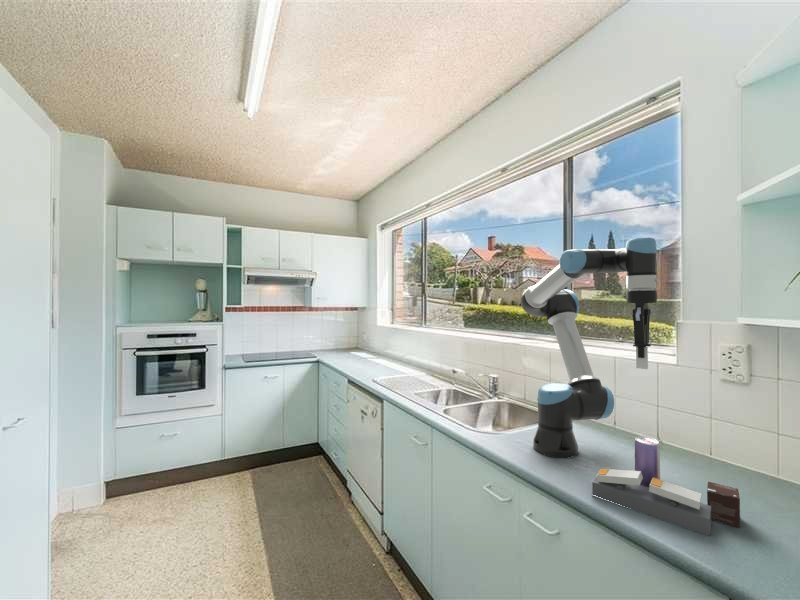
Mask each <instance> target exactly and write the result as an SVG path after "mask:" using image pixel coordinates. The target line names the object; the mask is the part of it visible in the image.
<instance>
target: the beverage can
mask: <svg viewBox="0 0 800 600" xmlns="http://www.w3.org/2000/svg"><path fill="white" fill-rule="evenodd" d="M634 471H641V473H642V477H643V479H642V481H641V483H640V485H642V486H645V487H648V488H649V485H650V483H651V480H652V478H657V479H660V480H661V445H660V442H659V441H658V440H657V439H655V438H652V437H650V436H649V437H648V436H636V437H635V440H634Z"/></svg>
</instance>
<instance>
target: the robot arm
mask: <svg viewBox="0 0 800 600" xmlns="http://www.w3.org/2000/svg"><path fill="white" fill-rule="evenodd" d="M657 253H658V250H657V241H656V239H655V238H653V237H635V238H631V239H628V240H627V241H626V244H625V247H622V248H617V249H580V248H574V249H567V250H564V251H563V252H562V253H561V255H560V257H559V264H558V265H557V266H556V267H554V268H553V269H552V270H551V271H550V272H549V273H547V274H546V275H545V276H544V277H543V278H541V279H540V281H538V282H537V283H536V284H535V285H532V286H529V287H528V288H526V289H525V291H523V293H522V294H521V297H520V305H521V307H522V309H523V311H524V312H526V313H527V314H528V315H530V316H532V317H535V318H546V320H547V323H548V324H549V325H551V326H552V327H553V329H554V333H555V337H556V340H557V343H558V347H559V349H560V353H561V357H562V359H563V364H564V365H565V369H566V372H567V375H568V378H569V379H568V380H569V381H568V383H561V382H560V383H557V382H556V383H555V382H552V383H545V384H543V385H541V387H539V389H538V390H537V418H538V419H537V421H538V422H537V425H538V426H537V429H536V432H535V435H534V438H533V448H535V449H536V450H537V451H536V450H535V449H534V450H535V451H536V452H538V453H540V454H542V455H544V454H545V456H547V455H548V457H551V458H558V459H560V458H561V459H570V458H574V457H577V456H578V454H579V445H578V442H577V439H576V436H575V434H574V427H573V426H574V425H573V423H574V422H573V421H587V420H589V421H590V420H594V421H598V420H601V419H607V418H609V417H610V416H611V415H612V413H613V412H614V409H615V398H614V394H613V392H612V391H611V389H609V388H608V387H607V386H605V385H602V383H601V380H600V378H598V377H596V376H595V375H594V373H593V370H592V367H591V364H590V360H589V359H588V355H587V352H586V350H585V347H584V346H585V345H584V344H583V341H582V338H581V335H580V333H579V330H578V326H577V323H576V319H577V317H578V314H579V311H580V301H579V298H578V295H576V293H575V292H574V291H572V290H570V289H565V288H566V287H568V286H569V285H571V284H572V283H573V282H575V281H576V280H577V279H579V278H580V277H582V276H583V275H585V274H588V273H589V274H593V273H594V274H595V273H596V274H598V273H599V274H600V273H601V274H602V273H604V274H617V273H623V272H624V273H625V272H626V280H625V282H626V283H625V284H626V285H625V287H626V288H625V289H626V290H628V291H626V303H627V304H634V308H633V309H632V315H631V316H632V322H633V336H634V343H633V344H632V346H633V347H635V352H636V353H635V355H636V356H635V361H636V363H635V364H636V365H635V366H636V368H635V369H642V370H648V369H649V350H648V349H649V347H651V345H652V344H651V343H650V323H651V322H650V320H651V310H652V309H651V308H650V309H649V304H655V303H657V301H658V292H657V290H655V289H657V282H659V281H660V278H658V277H657V271H658V270H657V269H658V267H657V265H658V264H657V256H658V255H657Z"/></svg>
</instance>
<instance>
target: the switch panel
mask: <svg viewBox="0 0 800 600" xmlns="http://www.w3.org/2000/svg"><path fill="white" fill-rule="evenodd" d="M591 488H592V489H591V491H592V493H591V494H593V495H596V496H598V497H601V498H603V499H606V500H609V501H612V502H614V503H617V504H620V505H622V506H621V507H623V506H625V507H628V508H631V509H633V510H632V511H634V510H636V511H635V512H637V511H638V513H640V512H641V514H643V513H644V514H643V515H647V516H650V517H652V518H655V519H659V520H662V521H664V522H667V523H670V524H673V525H676V526H679V527H682V528H685V529H687V530H690V529H691V530H690V531H693V530H694V532H696V531H697V532H696V533H699V534H702V535H705V536H709V537H710V536H711V527H712V520H711V506H709V505H707V503H704V502H703V503H702V502H701V503H700V508H699V509H696V508H693V507H691V506H688V505H685V504H682V503H680V502H677V501H674V500H671V499H669V498H666V497H663V496H660V495H658V494H655V493H652V492H649V488H648V487H645V486H642V485H629V484H617V483H606V482H598V478H597V476H595V478H594V479H593V481H592V486H591ZM614 503H613V504H614ZM617 504H616V505H617ZM620 505H619V506H620ZM625 507H624V508H625ZM628 508H627V509H628ZM631 509H630V510H631Z"/></svg>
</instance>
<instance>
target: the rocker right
mask: <svg viewBox="0 0 800 600" xmlns="http://www.w3.org/2000/svg"><path fill="white" fill-rule="evenodd" d="M649 492H652V493H655V494H658V495H660V496H663V497H666V498H669V499H671V500H674V501H677V502H680V503H682V504H685V505H688V506H691V507H693V508H696V509H699V508H700V503H702V493H700V492H697V491H695V490H691V489H689V488H686V487H683V486H680V485H677V484H674V483H672V482H667V481H665V480H662V479H661V478H660V479H657V478H652V480H651V483H650V485H649Z"/></svg>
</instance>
